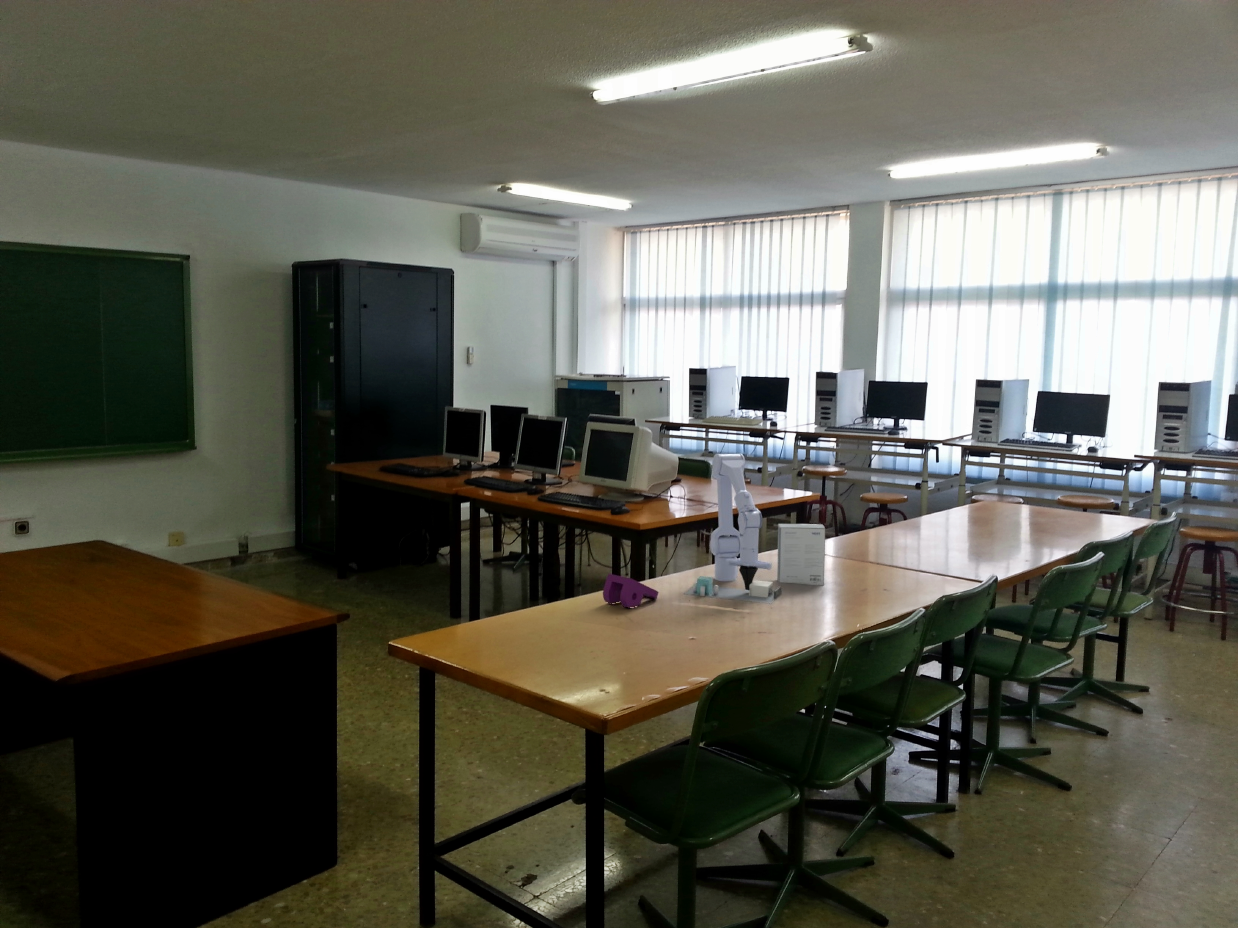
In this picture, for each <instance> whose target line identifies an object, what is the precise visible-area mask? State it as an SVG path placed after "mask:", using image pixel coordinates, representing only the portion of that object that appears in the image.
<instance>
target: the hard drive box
mask: <svg viewBox="0 0 1238 928" xmlns="http://www.w3.org/2000/svg"><path fill="white" fill-rule="evenodd" d="M825 527H826V526H824V525H823V523H822V524H821V523H819V524H818V523H817V524H815V523H813V524H812V523H811V524H810V523H778V524H777V569H776V570H777V575H776V576H777V578H776V579H777V580H776V581H777V583H788V584H789V583H790V584H791V583H792V584H798V585H799V584H800V585H809V586H811V585H812V586H824V585H825V558H826V557H825V556H826V554H825V553H826V528H825Z"/></svg>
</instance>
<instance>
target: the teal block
mask: <svg viewBox="0 0 1238 928" xmlns="http://www.w3.org/2000/svg"><path fill="white" fill-rule="evenodd" d="M713 578H714V577H712V576H711V577H710V576H702V575H701V576H699V577H698V578H696V583H697V594H700V590H701V586H705V595H710V594H711V593H712V587H713V586H714V584H713V581H714V580H713Z"/></svg>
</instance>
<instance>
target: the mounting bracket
mask: <svg viewBox="0 0 1238 928" xmlns="http://www.w3.org/2000/svg"><path fill="white" fill-rule="evenodd" d="M602 590H603V591H602V596H603V600H604V602H605V603H606V602H608V603H607V604H609V603H611V604H610V605H613V604H612V603H616V602H619V601H621V603H620V604H621V605H622V606H624V607H623V608H625V607H628V608H627V609H629V608H630V607H635V606H638V605H639V606H640V605H641V603H642V601H643V597H645V596H646V597H645V598H649V597H651V599H654V598H655V600H657V599H658V595H659V593H660V592H659V591H658V590H656V589H654V588H652V587H650V586H647V585H646V584H643V583H641V582H639V581H637V580H635V579H633V578H630V577H627V576H626V577H625V576H621V575H616V574H611V573H608V574H607V575H606V579H605V584H604V585H603V589H602ZM639 606H638V607H639Z"/></svg>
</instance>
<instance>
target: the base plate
mask: <svg viewBox="0 0 1238 928" xmlns="http://www.w3.org/2000/svg"><path fill="white" fill-rule="evenodd" d="M684 595H690V596H700V597H707V598H708V597H709V598H716V599H717V598H718V599H724V600H733V601H734V600H735V601H744V602H751V603H760V604H770V605H772V604H773V603H774V602H775V601H776V600H777V598H779V596H781V595H782V585H779V586H778V587H776V589H775V590H773V593H769V595H768V598H767V597H758V596H749V590H745V588H744V589H743V588H733V587H723V586H719V585H718V584H713V587H712V593H711V594H710V595H705V586H701V590H700V594H697V582H693V587H691V588H689V590H687V591H686V592H685V593H684Z"/></svg>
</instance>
